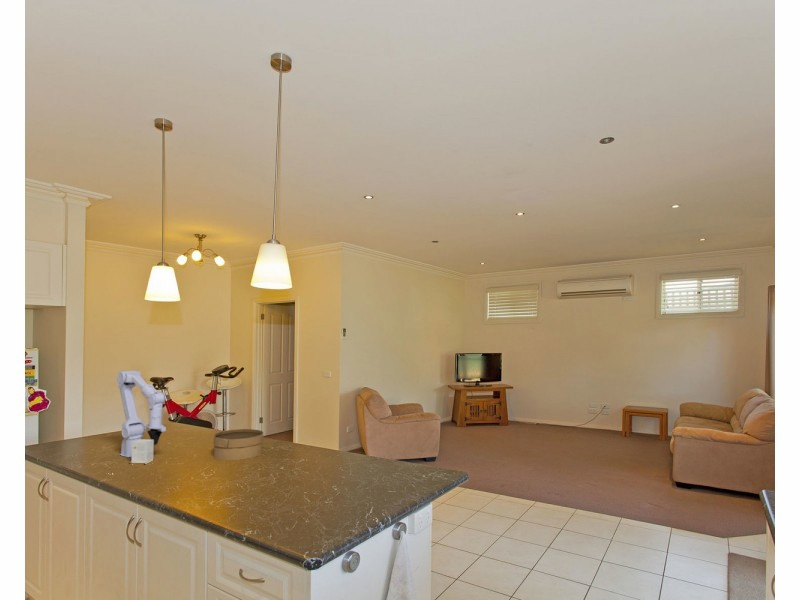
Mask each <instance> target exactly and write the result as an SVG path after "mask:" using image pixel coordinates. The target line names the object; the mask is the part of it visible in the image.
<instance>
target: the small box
mask: <svg viewBox="0 0 800 600" xmlns="http://www.w3.org/2000/svg"><path fill="white" fill-rule="evenodd" d="M154 447H155V445H154V440H152V439H148V438H147V439H145V438H141V439H139V440H136V441H133V442H132V457H131V461H130V462H131V463H145V464H147V463H149V462H151V461H153V459H154V450H155V449H154Z"/></svg>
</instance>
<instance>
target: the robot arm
mask: <svg viewBox="0 0 800 600" xmlns="http://www.w3.org/2000/svg"><path fill="white" fill-rule="evenodd" d="M116 383H117V387H118V389H119V391H120V397H121V402H122V407H123V411H124V416H125V417H124V418H125V421H124V422H123V423H122V425H121V435H122V437H123V439H122V441H121V451H120V453H119V456H120V455H121V457H125V458H129V457H130V458H132V442H133V441H136V440H139V439H142V438H143V437H144V435H145V433H146V430H147V429H149V430H147V434H148V436H149V438H150V439H152V440H154V446H156V445H158V443H159V440H160V436H161V435H162V433H163V432H166V431H167V427H166V426H164V424H163V423H162V422H163V407H164V406H163V404H164V403H165V402H166V395H165V393H164V392H160V391H158V390H157V389H156V388H155V387H154V386H153V385H152V384H150V383H149V384H148V383H147V382H146V381H145V380H144V378H143V377H142V372H141V371H140V370H138V369H135V370H125V371H124V370H120V371H119V372H118V374H117V375H116ZM136 386H137V387H138V388H139V389H141V391H140V392H141V394H142V395H143V396H144V397H145V398H146V400H147V404H148V409H149V417H148V420H149V421H148V424H144V421H143V420H142V419H141V418H139V417H138V413H137V409H136V404H135V400H134V394H133V390H132V389H133V388H135V387H136Z"/></svg>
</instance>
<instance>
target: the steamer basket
mask: <svg viewBox="0 0 800 600" xmlns="http://www.w3.org/2000/svg"><path fill="white" fill-rule="evenodd" d="M263 442H264V431H263V430H261V429H259V430H258V429H254V428H252V429H251V428H250V429H249V428H240V429H230V430H223V431H218V432H216V433H215V434H214V435H213V458H214V459H215V458H216V459H215V460H218V459H221V460H220V461H224V460H238V461H241V460H240V459H247V458H252V457H255V456H258V455H260V454H261V453H262V454H263ZM262 454H261V455H262ZM261 455H260V456H261ZM258 457H259V456H258ZM252 459H253V458H252ZM247 460H248V459H247Z"/></svg>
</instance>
